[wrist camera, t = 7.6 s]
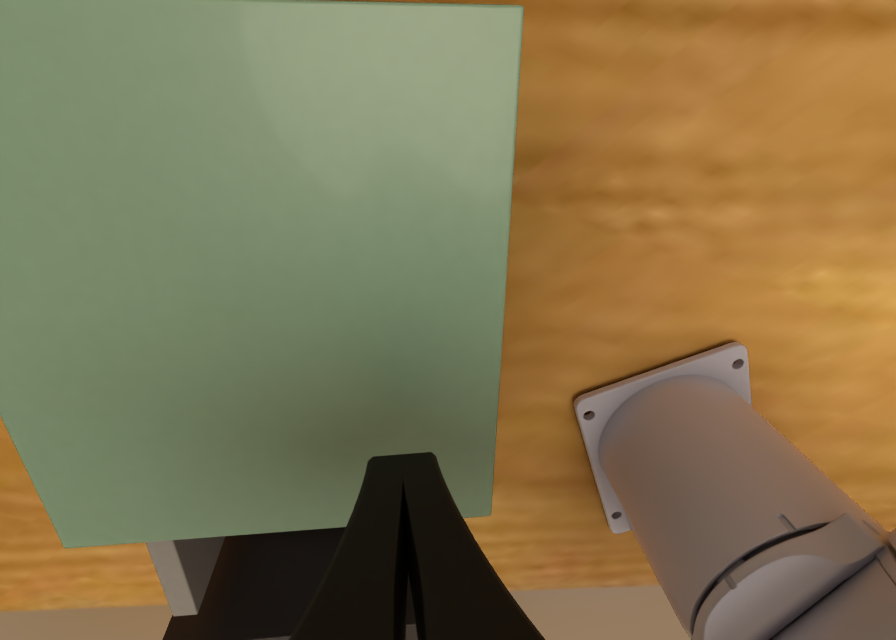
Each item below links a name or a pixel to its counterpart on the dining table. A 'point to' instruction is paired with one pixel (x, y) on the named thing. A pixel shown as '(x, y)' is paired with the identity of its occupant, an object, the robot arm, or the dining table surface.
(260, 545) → the drawer
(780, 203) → the dining table surface
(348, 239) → the green drawer cabinet
